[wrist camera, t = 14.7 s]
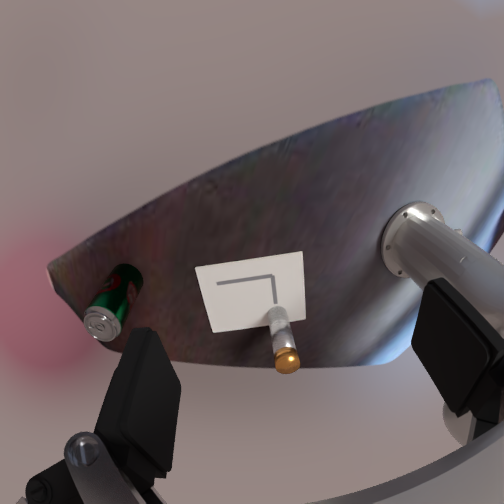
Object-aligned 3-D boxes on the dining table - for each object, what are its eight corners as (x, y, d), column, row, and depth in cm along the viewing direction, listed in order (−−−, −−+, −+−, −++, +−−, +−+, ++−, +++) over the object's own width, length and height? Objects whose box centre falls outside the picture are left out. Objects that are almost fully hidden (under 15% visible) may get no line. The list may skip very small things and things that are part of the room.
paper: (302, 251, 39) (302, 251, 39) (305, 318, 44) (305, 319, 44) (195, 267, 39) (194, 268, 39) (212, 331, 44) (212, 332, 44)
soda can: (142, 295, 41) (118, 349, 30) (112, 285, 40) (81, 336, 29) (146, 267, 39) (119, 318, 28) (114, 257, 38) (80, 305, 27)
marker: (286, 304, 43) (299, 355, 33) (287, 319, 44) (300, 371, 34) (266, 307, 43) (274, 360, 33) (268, 323, 44) (276, 375, 34)
